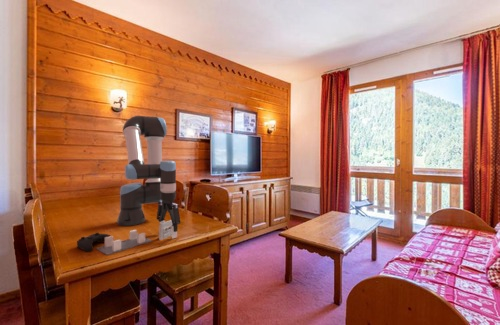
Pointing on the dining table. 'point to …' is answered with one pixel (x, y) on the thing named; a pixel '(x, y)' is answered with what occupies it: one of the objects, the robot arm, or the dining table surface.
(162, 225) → the cassette
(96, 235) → the gaming controller
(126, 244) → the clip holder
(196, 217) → the dining table surface
